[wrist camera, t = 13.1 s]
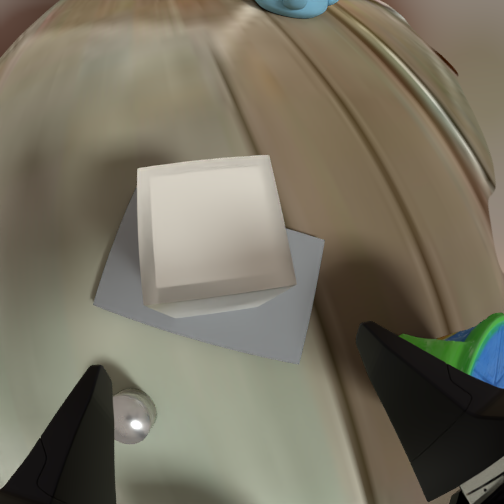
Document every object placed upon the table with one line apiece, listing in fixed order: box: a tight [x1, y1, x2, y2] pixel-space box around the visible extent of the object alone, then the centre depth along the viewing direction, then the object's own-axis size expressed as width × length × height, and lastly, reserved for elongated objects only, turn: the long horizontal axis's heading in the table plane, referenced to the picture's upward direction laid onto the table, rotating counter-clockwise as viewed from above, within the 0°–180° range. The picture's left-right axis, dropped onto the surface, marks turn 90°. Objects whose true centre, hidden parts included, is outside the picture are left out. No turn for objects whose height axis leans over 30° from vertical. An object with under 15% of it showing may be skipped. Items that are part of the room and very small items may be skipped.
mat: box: [93, 188, 325, 364], centre depth 22 cm, size 16×10×1 cm, turn 76°
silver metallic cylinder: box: [113, 389, 157, 444], centre depth 17 cm, size 4×4×3 cm
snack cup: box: [399, 313, 504, 389], centre depth 17 cm, size 16×10×10 cm
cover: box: [137, 155, 297, 318], centre depth 16 cm, size 6×6×10 cm
